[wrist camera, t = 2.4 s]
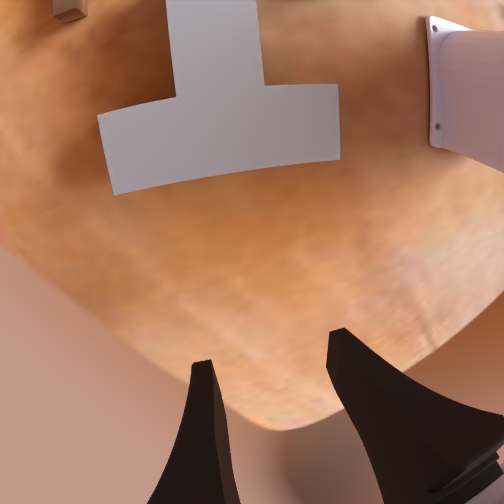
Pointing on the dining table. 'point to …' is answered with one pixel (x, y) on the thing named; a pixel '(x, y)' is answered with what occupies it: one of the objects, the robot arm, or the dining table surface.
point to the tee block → (218, 107)
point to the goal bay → (69, 9)
